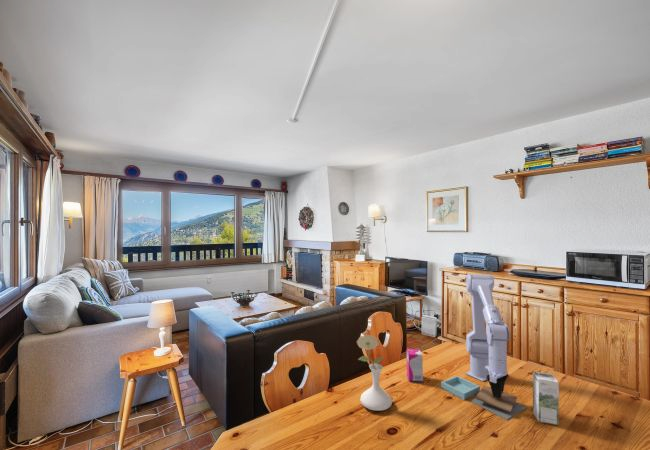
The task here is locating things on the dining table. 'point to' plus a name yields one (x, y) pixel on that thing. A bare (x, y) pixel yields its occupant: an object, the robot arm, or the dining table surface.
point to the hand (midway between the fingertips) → (497, 395)
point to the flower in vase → (374, 395)
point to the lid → (496, 399)
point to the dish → (460, 387)
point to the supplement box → (414, 365)
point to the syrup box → (546, 398)
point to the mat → (499, 411)
